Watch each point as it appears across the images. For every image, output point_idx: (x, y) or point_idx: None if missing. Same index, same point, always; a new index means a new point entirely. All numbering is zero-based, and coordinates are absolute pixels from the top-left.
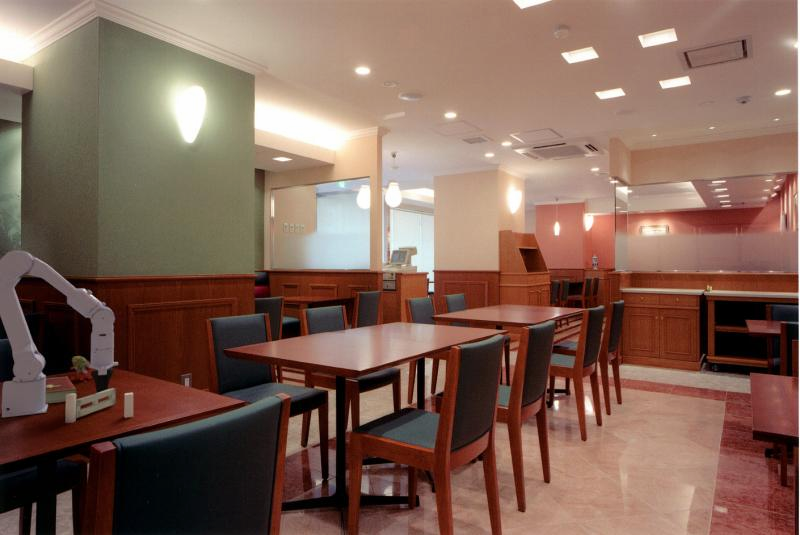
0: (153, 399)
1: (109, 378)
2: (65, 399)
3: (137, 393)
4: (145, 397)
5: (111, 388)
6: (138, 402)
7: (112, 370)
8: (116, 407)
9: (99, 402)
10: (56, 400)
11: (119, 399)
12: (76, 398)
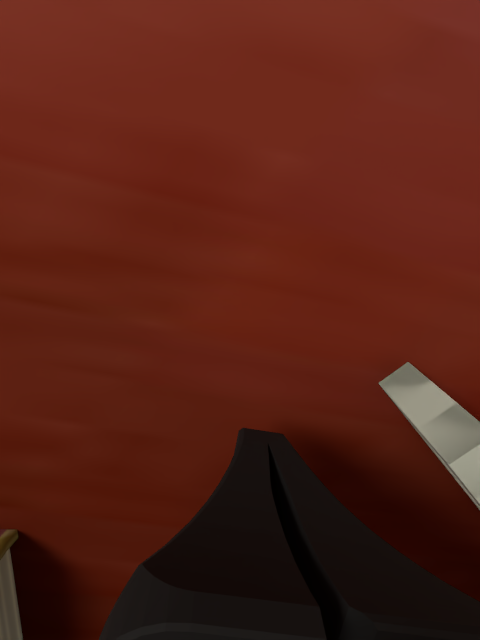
0: (420, 5)
1: (410, 568)
2: (6, 595)
3: (35, 71)
4: (275, 52)
5: (468, 470)
6: (428, 171)
7: (315, 635)
8: (456, 357)
9: (476, 503)
10: (12, 638)
11: (196, 281)
12: (10, 539)
